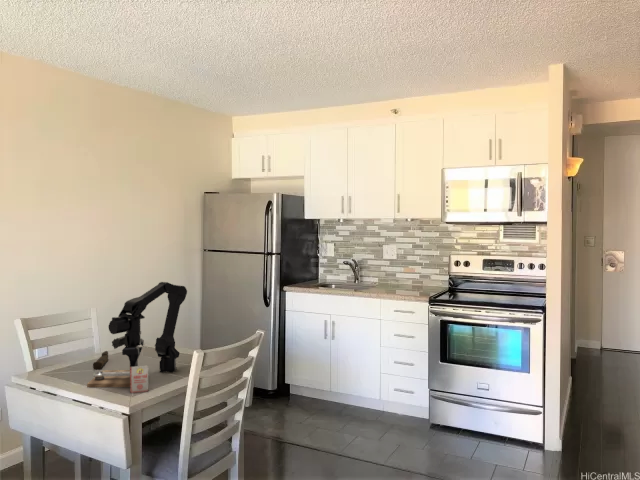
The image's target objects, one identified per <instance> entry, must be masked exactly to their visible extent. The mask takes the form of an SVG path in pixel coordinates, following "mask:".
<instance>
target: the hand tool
mask: <svg viewBox="0 0 640 480" xmlns="http://www.w3.org/2000/svg"><path fill="white" fill-rule="evenodd" d="M107 362H109V351H107V350H106V351H103V352H102V353H101V355H100V357H99V358H98V359H97V360H96V361H94V362H93V363H92V368H93V370H94V371H95V370H98V371H100V370H101V369H102V368H103V366H104V365H105V363H107Z"/></svg>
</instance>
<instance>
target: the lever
mask: <svg viewBox="0 0 640 480" xmlns="http://www.w3.org/2000/svg"><path fill="white" fill-rule="evenodd" d="M138 361H139V358H138V359H137V361H136V364H135V367H136V366H139V365H138V363H139V362H138ZM130 367H131V364H130V363H129V368H130ZM102 371H103V370H98V371H95V372H94V373H93V375H92V376H93V378H95V377H97V378H98V377H110V376H130V372H102Z"/></svg>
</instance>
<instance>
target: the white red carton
mask: <svg viewBox="0 0 640 480" xmlns="http://www.w3.org/2000/svg"><path fill="white" fill-rule="evenodd" d="M129 370H130V386H131V387H130V394H133V393H143V392H149V365H138V366H136V367H130V366H129Z"/></svg>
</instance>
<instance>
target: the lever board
mask: <svg viewBox="0 0 640 480" xmlns="http://www.w3.org/2000/svg"><path fill="white" fill-rule="evenodd" d="M101 371H102V372H130V369H124V370H123V369H122V370H121V369H119V370H115V369H114V370H113V369H112V370H111V369H110V370H109V369H108V370H104V369H103V370H101ZM86 385H87V388H131V386H130V376H110V377H98V378H97V377H93V378H92V379H90V380H89V381H88V382H87V383H86Z"/></svg>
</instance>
